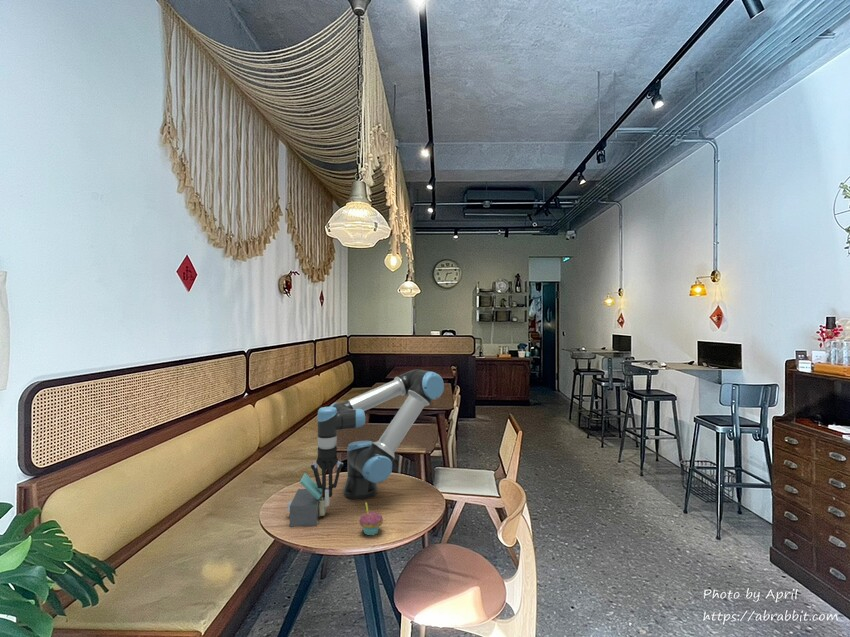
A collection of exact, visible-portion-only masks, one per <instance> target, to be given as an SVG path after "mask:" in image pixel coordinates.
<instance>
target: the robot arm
mask: <svg viewBox="0 0 850 637" xmlns="http://www.w3.org/2000/svg"><path fill="white" fill-rule="evenodd" d="M444 390H445V384H444V380H443V378H442V376H441V375H440V374H438V373H436V372H434V371H429V370H424V369H419V368H417V369H412V370H409V371H406V372H404V373H402V374H399V375H397V376H395V377H394V378H393V380H391V381H389V382H387V383H384V384H382V385H380V386H378V387H375V388H373V389H370V390H368V391H365V392H363V393H360V394H358V395H357V396H354V397H353V398H349V399H348V400H345V401H342V402H333V403H332V404H331V405H330V406H324V407H323V406H322V407H320V408H319V409H318V410H317V419H316V421H317V422H316V423H317V459H316V461H315V462H312V463H311V465H310V468H311V470H312V471H313V475H314V479H315V483H316V484H317V487H318V488H321V489H322V497H325V506H327V507H329V506H330V505H331V504H330V503H331V502H330V501H331V500H330V499H331V498H332V497H333V489H336V488H337V485H338V482H339V477H340V473H341V470H342V468H343V467H344V462H343V461H340V460H339V458H338V449H337V448H338V447H337V445H338V442H337V441H338V439H337V438H338V431H342V430H343V431H344V430H350V429H357V428H361V427H363V426H364V425H365V424H366V412H365V411H367V410H368V411H369V410H370V409H372V408H375V407H377V406H378V405H381V404H383V403H386V402H387V401H389V400H392V399H394V398H397V397H399V396H402V397H404V396H406V395H408V396H407V397H406V398H405V401H404V402H403V404H402V405H401V406H400V408H399V409H398V410H397V412H396V414H395V415H394V416H393V417H392V418H393V419H391V421H390V423H389V424H388V426H387V427H386V429H385V430H384V432H383V433H382V435H381V436H380V438H379V439H378V440H376V441H371V440H357V441H352V442H350V443H349V444H347V449H346V450H347V451H346V452H347V454H346V455H347V467H346V468H347V476H346V480H345V483H344V486H343V497H346V498H347V499H350V500H355V499H361V500H367V499H370V497H371V498H373V497H375V496H376V495H377V494H378V485H377V484H379V483H383V482H384V481H386V480H387V479H388V478H389V477H390V476H391V474H392V471H393V462H394V461H395V459H396V456H395V452H396V450H397V449H398V448H399V446H400V444H401V443H402V442H403V440H404V438H405V436H406V435H408V434H407V433H409V431H410V429H411V427H412V426H413V424H414V423H415V422H416V420H417V418H418V417H419V415H420V414H421V412H422V411H423V409H424V407H428V406H430V404H431V403H432V401H433V400H436V399H439V398H440V397H442V394H443V393H444ZM318 467H319V468H320V469H321V477H320V473H319V469H318ZM335 467H336V468H337V469H336V474H335V478H334V481H333V470H334V468H335ZM327 471H328V486H327ZM366 498H367V499H366Z"/></svg>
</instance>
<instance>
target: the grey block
mask: <svg viewBox="0 0 850 637" xmlns="http://www.w3.org/2000/svg"><path fill="white" fill-rule="evenodd" d="M321 495H322V494H321ZM319 500H320V499H319ZM319 500H318V499H316V498H315V497H314V496H313V495H312V494H311V493H310V492H309V491H308V490H307V489H306V488H298V489H297V491H296V493H295V494H294V497H293V498H292V500H291V501H292V503H291V505H290V512H289V527H290V528H295V527H294V526H302V527H317V526H318V523H319V520H318V519H320V517H319ZM317 522H318V523H317Z"/></svg>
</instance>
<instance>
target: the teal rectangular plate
mask: <svg viewBox="0 0 850 637" xmlns="http://www.w3.org/2000/svg"><path fill="white" fill-rule="evenodd" d="M299 481H300V482H299V484H301V486H303V487H304V489H307V490H308V491H309V492H310V493H311V494H312V495H313V496H314V497H315V498H316V499H318V500H319V499H320V497H321V494H322V489H321V488H318V487H317V483H316V481H314V480H313V479H312V478H311V477H310V476H309V475H308V474H307V473H306V472H305V473H304V474H303V475H302V477H301V479H300V480H299Z"/></svg>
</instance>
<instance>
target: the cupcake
mask: <svg viewBox="0 0 850 637" xmlns="http://www.w3.org/2000/svg"><path fill="white" fill-rule="evenodd" d="M365 509H366V510H365V511H366V512H365V513H364V514H362V515H361V516H360V518H359V525H360V527H362V529H363V533H364V535H365V534H367V535H373V534H376V533H377V534H378V532H379V528H380V527H381V526H382V525H383V523H384V521H383V518H382V515H381V514H379V513H378V512H376V511H375V512H374V511H369V507H368V502H367V501H365ZM377 534H376V535H377ZM367 535H366V536H367Z"/></svg>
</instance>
